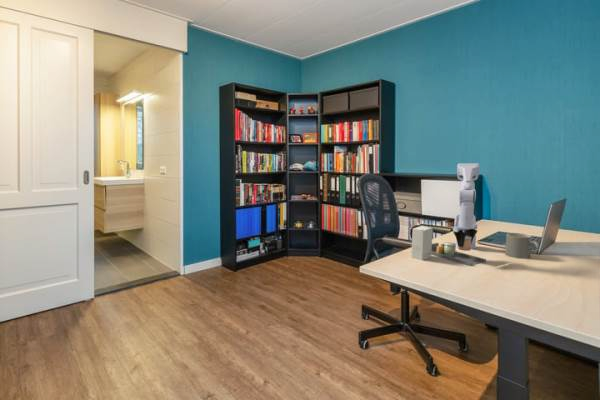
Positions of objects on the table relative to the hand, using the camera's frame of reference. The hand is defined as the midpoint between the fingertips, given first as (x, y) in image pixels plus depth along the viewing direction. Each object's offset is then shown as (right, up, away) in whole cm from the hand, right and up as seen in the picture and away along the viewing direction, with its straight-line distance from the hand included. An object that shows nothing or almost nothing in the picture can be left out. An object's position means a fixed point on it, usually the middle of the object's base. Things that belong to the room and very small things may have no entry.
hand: (464, 245), depth 150 cm
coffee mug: (+31, -6, +8) cm, 32 cm away
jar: (0, -2, 0) cm, 2 cm away
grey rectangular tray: (-3, -6, +6) cm, 9 cm away
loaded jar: (-4, -6, +7) cm, 10 cm away
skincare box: (-18, -7, +5) cm, 20 cm away
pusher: (-5, -6, +10) cm, 13 cm away
